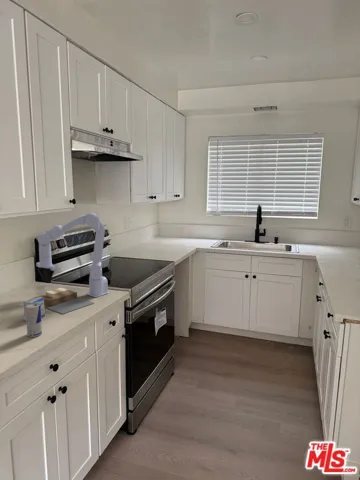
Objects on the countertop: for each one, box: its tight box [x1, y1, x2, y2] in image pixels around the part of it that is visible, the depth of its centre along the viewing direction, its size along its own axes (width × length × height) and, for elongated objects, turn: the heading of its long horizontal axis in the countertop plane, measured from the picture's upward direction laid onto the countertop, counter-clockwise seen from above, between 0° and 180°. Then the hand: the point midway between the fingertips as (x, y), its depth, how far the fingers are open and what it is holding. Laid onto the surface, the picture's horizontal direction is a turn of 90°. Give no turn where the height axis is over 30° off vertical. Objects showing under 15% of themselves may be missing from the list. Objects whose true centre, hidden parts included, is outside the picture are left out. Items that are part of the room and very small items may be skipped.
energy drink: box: [25, 303, 43, 338], centre depth 129 cm, size 5×5×12 cm
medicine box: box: [22, 296, 46, 322], centre depth 146 cm, size 8×4×9 cm, turn 164°
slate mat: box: [47, 297, 95, 315], centre depth 161 cm, size 18×12×1 cm, turn 144°
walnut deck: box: [36, 289, 78, 308], centre depth 168 cm, size 16×10×4 cm, turn 144°
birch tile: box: [45, 287, 70, 298], centre depth 167 cm, size 9×6×2 cm, turn 144°
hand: (46, 281), depth 172 cm, fingers open, 3 cm apart
